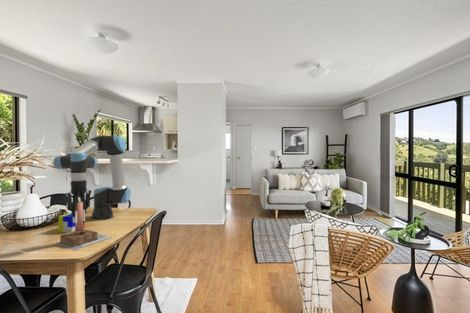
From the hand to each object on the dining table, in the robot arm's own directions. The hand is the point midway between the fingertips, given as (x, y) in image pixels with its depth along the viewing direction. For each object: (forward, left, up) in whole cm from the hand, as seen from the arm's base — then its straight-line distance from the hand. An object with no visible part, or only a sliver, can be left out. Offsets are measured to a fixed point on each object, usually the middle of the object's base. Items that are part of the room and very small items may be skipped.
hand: (79, 221), depth 142 cm
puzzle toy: (-12, -28, -12) cm, 33 cm away
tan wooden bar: (0, 0, -5) cm, 5 cm away
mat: (-2, +1, -12) cm, 12 cm away
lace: (-4, +8, -11) cm, 15 cm away
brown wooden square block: (0, 0, -11) cm, 11 cm away
